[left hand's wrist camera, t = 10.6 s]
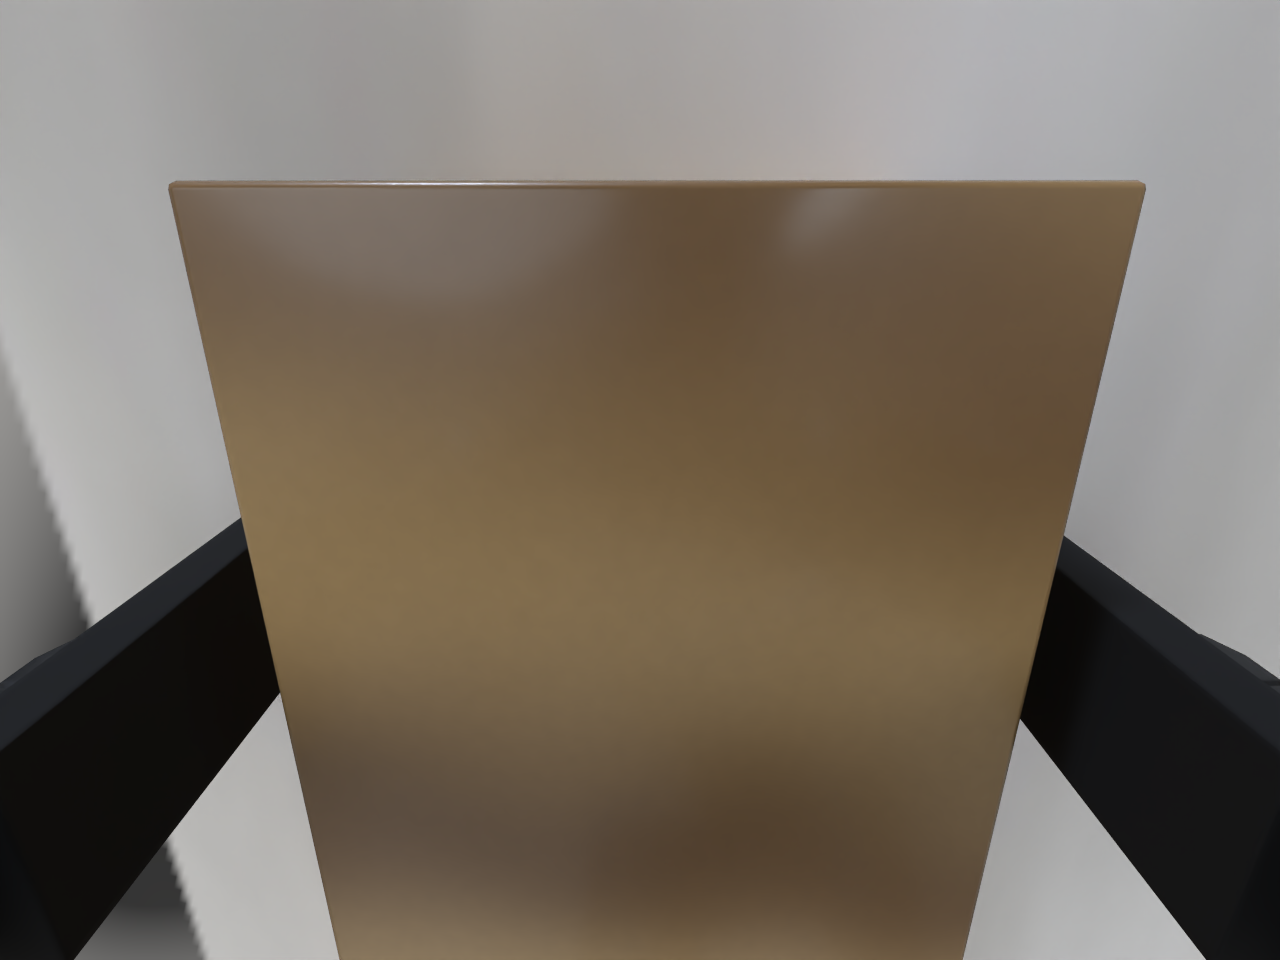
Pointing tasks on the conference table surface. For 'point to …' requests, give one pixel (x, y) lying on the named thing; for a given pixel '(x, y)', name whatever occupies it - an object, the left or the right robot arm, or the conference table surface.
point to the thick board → (654, 541)
